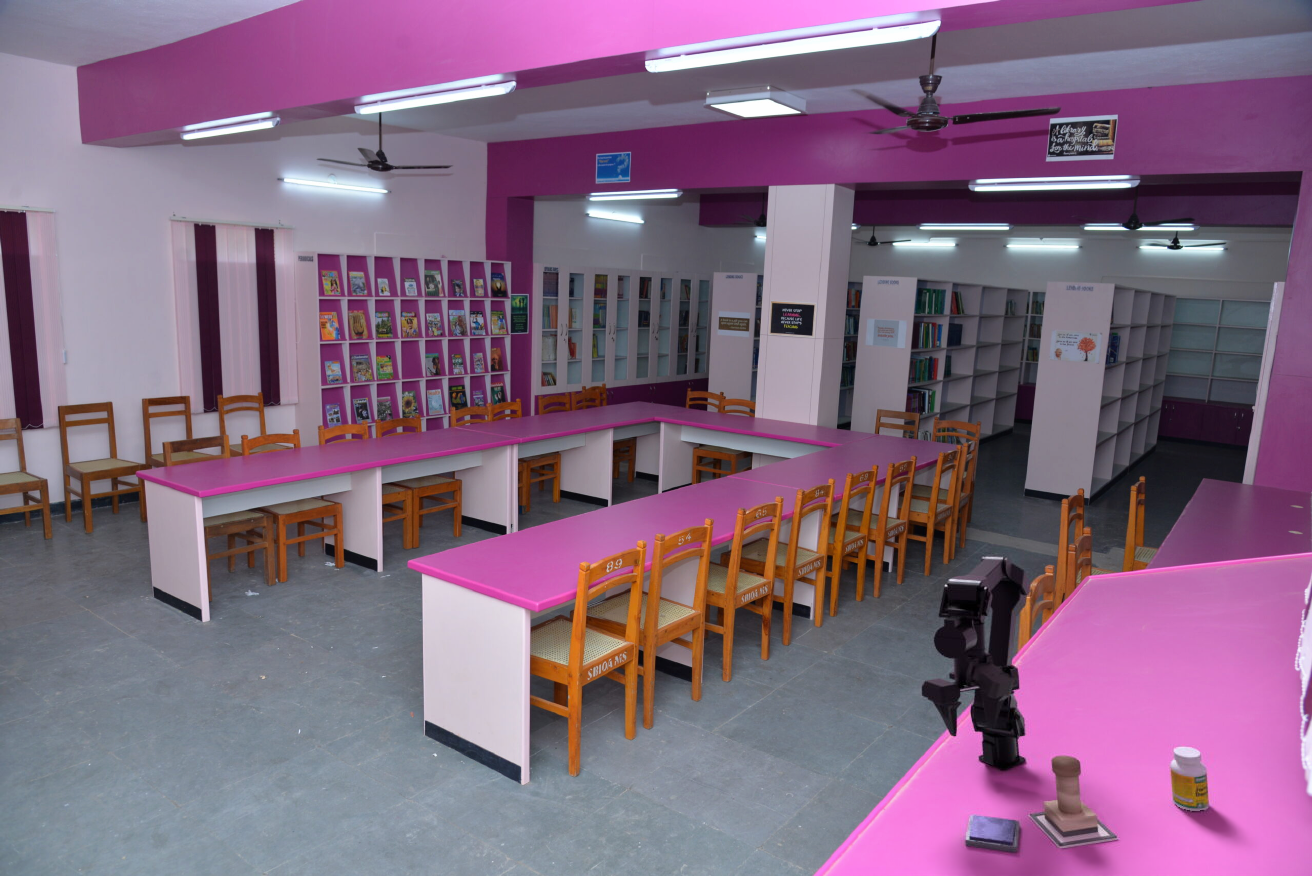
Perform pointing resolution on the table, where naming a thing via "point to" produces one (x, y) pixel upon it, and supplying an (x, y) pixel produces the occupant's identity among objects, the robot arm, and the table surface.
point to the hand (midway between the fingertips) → (972, 731)
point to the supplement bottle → (1189, 780)
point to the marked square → (1072, 841)
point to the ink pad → (993, 833)
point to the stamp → (1069, 801)
